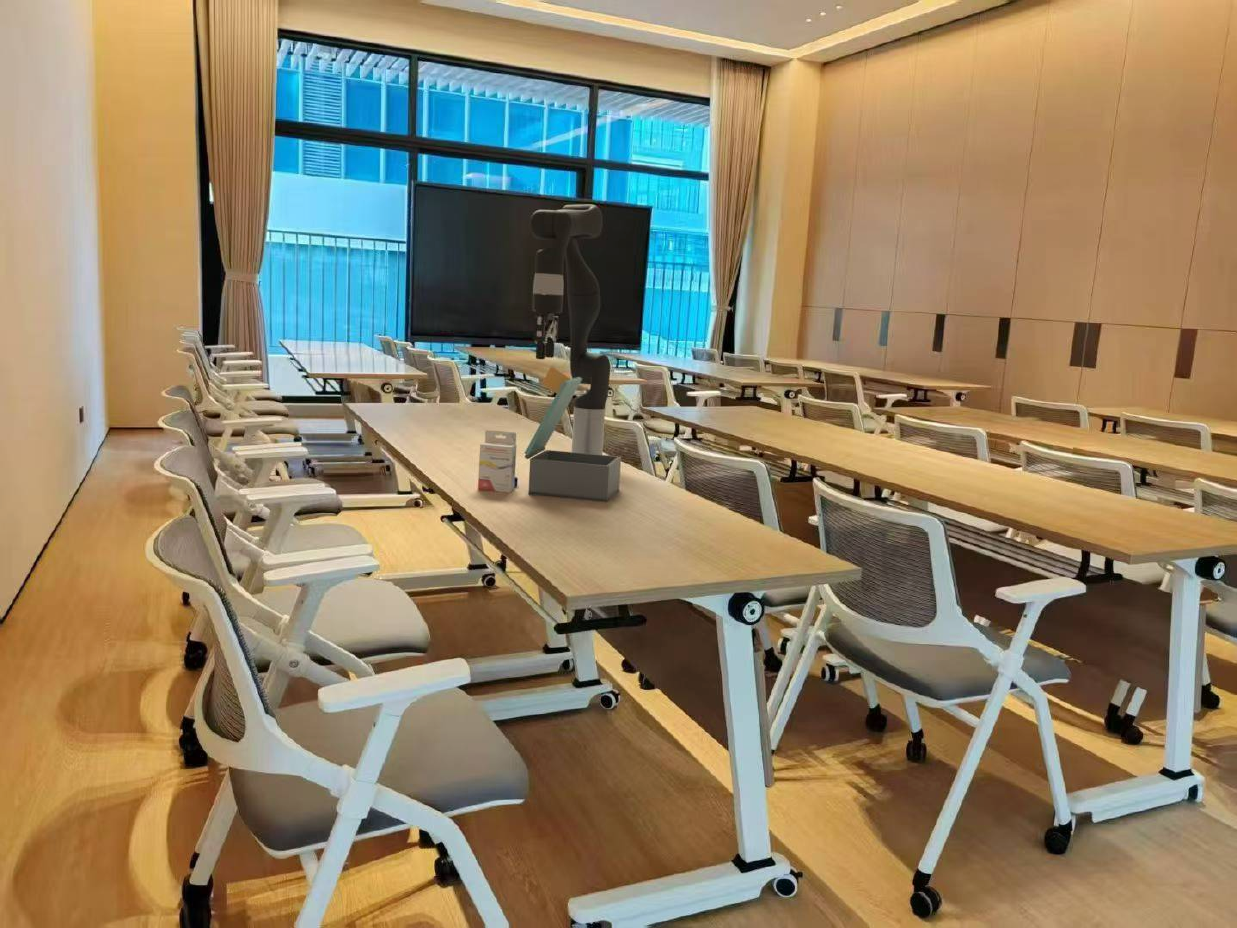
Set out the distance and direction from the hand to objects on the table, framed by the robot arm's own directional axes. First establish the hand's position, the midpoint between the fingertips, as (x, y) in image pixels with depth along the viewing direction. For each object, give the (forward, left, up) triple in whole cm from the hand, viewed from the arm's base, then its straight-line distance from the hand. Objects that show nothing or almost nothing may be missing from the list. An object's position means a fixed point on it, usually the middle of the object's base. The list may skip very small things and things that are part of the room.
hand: (544, 358), depth 236 cm
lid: (0, -1, -24) cm, 24 cm away
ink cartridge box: (+6, -9, -34) cm, 35 cm away
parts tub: (0, +10, -34) cm, 35 cm away
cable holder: (-1, -10, -34) cm, 35 cm away
